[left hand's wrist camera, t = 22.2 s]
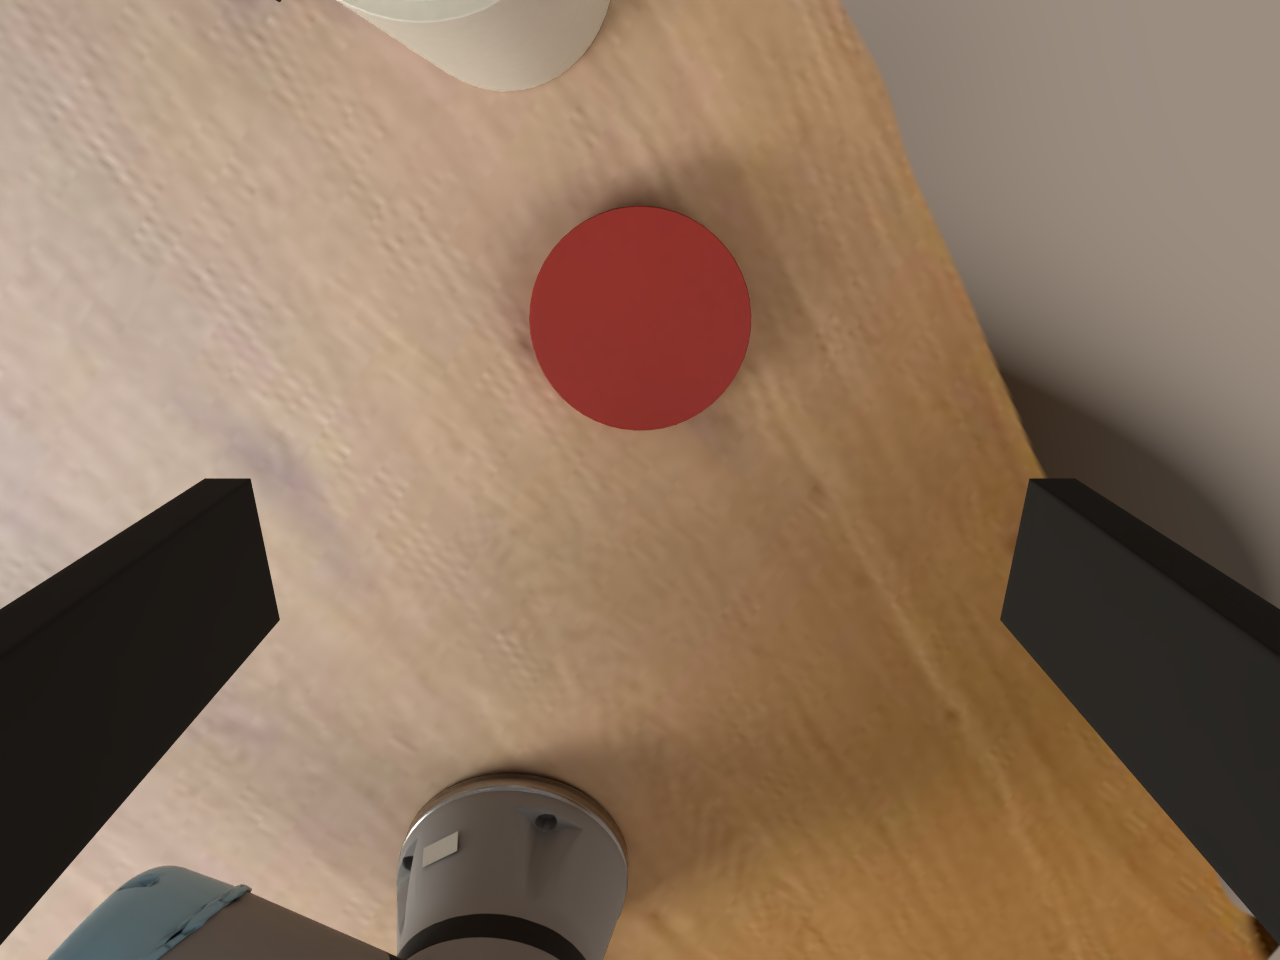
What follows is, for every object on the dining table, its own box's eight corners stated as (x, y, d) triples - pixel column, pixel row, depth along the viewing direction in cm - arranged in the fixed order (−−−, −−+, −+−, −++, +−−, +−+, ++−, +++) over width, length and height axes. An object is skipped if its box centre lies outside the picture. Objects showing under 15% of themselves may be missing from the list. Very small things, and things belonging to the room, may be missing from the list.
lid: (756, 211, 35) (762, 212, 33) (735, 425, 39) (740, 435, 37) (533, 200, 35) (528, 200, 33) (534, 415, 38) (530, 425, 37)
